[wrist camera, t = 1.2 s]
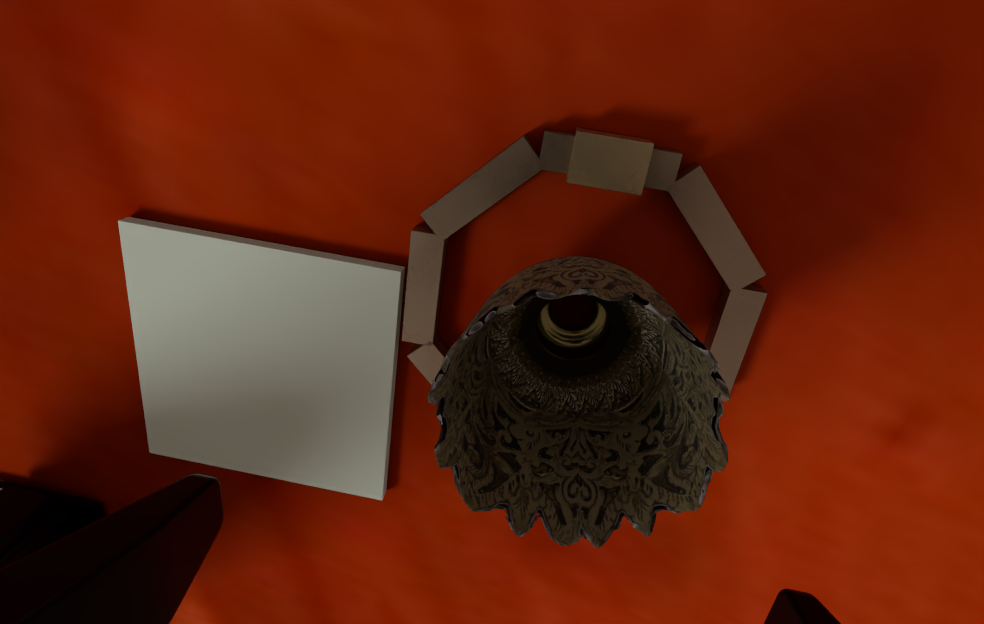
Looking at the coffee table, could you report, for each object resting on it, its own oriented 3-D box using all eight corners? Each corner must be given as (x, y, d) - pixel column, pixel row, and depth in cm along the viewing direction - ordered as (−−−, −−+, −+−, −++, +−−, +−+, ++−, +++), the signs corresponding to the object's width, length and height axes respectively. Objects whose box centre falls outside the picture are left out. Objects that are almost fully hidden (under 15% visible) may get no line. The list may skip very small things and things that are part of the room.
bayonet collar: (689, 476, 23) (695, 496, 22) (399, 418, 24) (391, 435, 23) (804, 164, 18) (819, 171, 17) (427, 102, 19) (419, 105, 18)
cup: (666, 398, 22) (715, 561, 15) (480, 392, 23) (439, 543, 16) (684, 210, 19) (757, 297, 12) (470, 212, 20) (414, 293, 13)
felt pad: (386, 491, 26) (382, 500, 25) (158, 444, 26) (149, 452, 26) (405, 266, 21) (400, 271, 21) (129, 216, 22) (117, 220, 21)
